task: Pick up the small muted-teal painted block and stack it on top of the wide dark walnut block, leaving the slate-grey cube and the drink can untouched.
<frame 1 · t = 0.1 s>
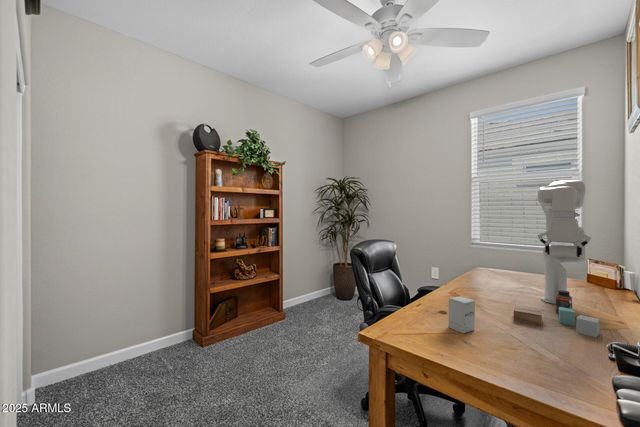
hand: (562, 255, 120), 31 cm above the table, tool pointing down, fingers open, 9 cm apart
supplement bottle: (563, 314, 136), on the table
walnut block: (527, 320, 129), on the table
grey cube: (587, 333, 115), on the table
teal cube: (566, 322, 126), on the table
supplement box: (461, 329, 118), on the table
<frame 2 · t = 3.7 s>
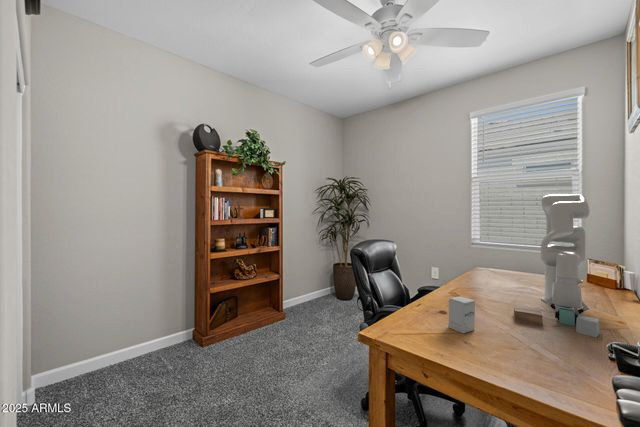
hand: (566, 321, 126), 1 cm above the table, tool pointing down, fingers closed on teal cube, 5 cm apart
teal cube: (566, 322, 126), on the table, touching gripper
everything else where it was.
when the fingers open (7 cm above the table, at t = 8.3 s): teal cube drops 1 cm, resting on walnut block.
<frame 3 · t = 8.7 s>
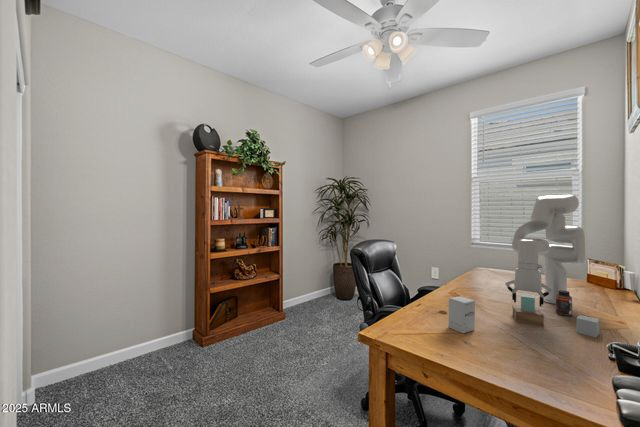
hand: (527, 303, 129), 7 cm above the table, tool pointing down, fingers open, 9 cm apart
walnut block: (527, 320, 129), on the table, touching teal cube
teal cube: (527, 309, 129), point 5 cm above the table, touching walnut block
everything else where it was.
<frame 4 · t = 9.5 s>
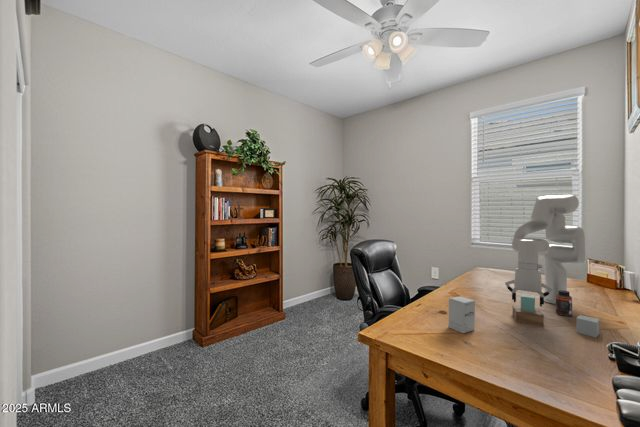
hand: (527, 303, 129), 8 cm above the table, tool pointing down, fingers open, 9 cm apart
walnut block: (527, 320, 129), on the table
teal cube: (527, 309, 129), point 5 cm above the table
everything else where it was.
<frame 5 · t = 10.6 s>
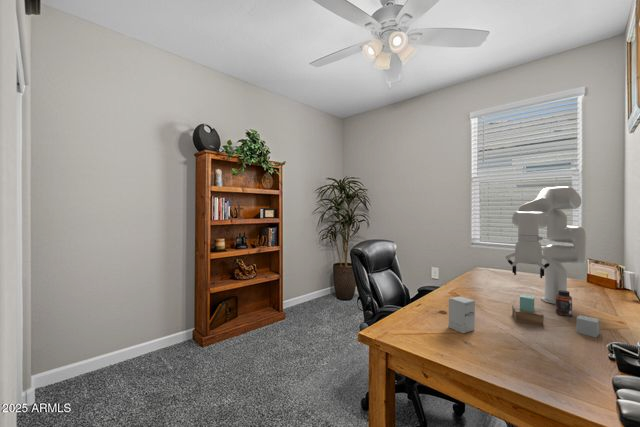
hand: (527, 276, 129), 20 cm above the table, tool pointing down, fingers open, 9 cm apart
walnut block: (527, 320, 129), on the table, touching teal cube
teal cube: (527, 309, 129), point 5 cm above the table, touching walnut block
everything else where it was.
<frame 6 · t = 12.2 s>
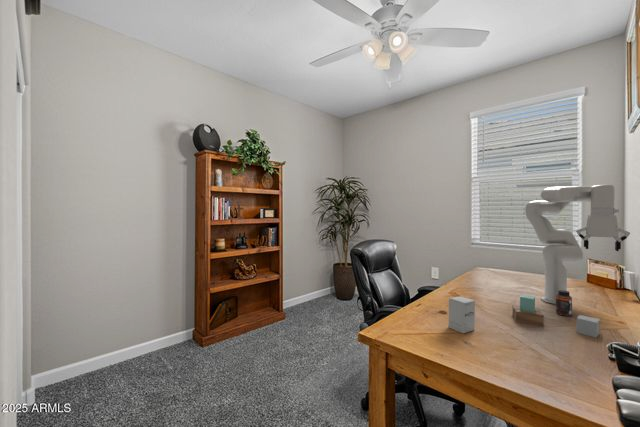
hand: (601, 249, 127), 33 cm above the table, tool pointing down, fingers open, 9 cm apart
nothing on the table moved.
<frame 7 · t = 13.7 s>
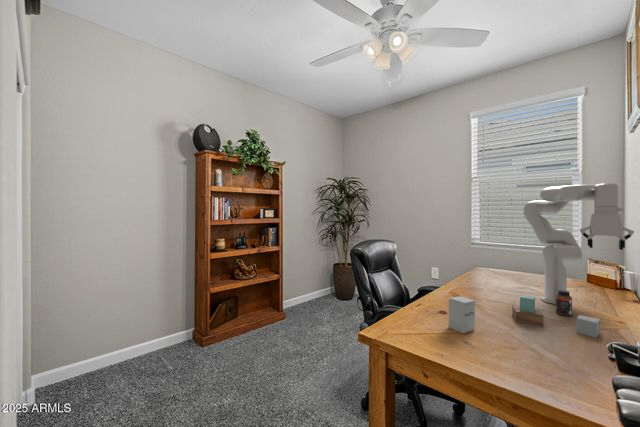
hand: (605, 248, 127), 33 cm above the table, tool pointing down, fingers open, 9 cm apart
nothing on the table moved.
at the end: teal cube inside the target area on the walnut block (0.4 cm from its centre), point 5.1 cm above the walnut block's base; teal cube tilted 1°; the gripper is holding nothing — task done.
